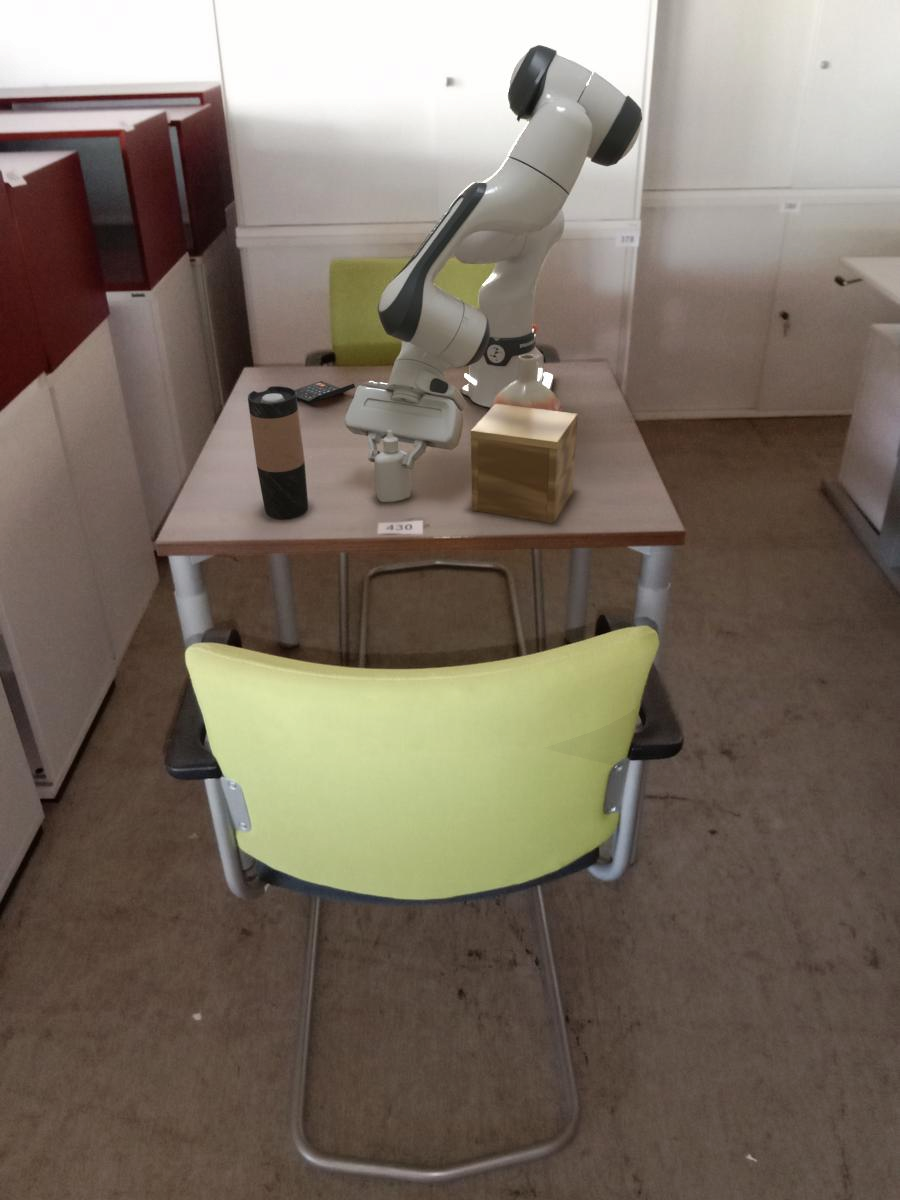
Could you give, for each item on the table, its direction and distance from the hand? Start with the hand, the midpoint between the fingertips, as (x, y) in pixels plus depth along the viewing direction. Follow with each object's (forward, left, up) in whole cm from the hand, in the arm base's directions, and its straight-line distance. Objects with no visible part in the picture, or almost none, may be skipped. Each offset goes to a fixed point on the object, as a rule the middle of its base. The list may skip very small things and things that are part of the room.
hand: (390, 464), depth 153 cm
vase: (-27, +15, -7) cm, 31 cm away
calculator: (-39, -34, -7) cm, 52 cm away
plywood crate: (-7, +21, -6) cm, 23 cm away
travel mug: (+9, -15, -7) cm, 19 cm away
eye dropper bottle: (-1, 0, -7) cm, 7 cm away
